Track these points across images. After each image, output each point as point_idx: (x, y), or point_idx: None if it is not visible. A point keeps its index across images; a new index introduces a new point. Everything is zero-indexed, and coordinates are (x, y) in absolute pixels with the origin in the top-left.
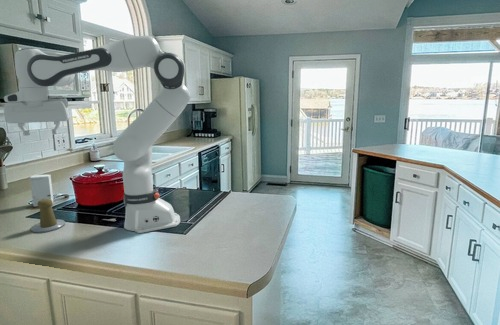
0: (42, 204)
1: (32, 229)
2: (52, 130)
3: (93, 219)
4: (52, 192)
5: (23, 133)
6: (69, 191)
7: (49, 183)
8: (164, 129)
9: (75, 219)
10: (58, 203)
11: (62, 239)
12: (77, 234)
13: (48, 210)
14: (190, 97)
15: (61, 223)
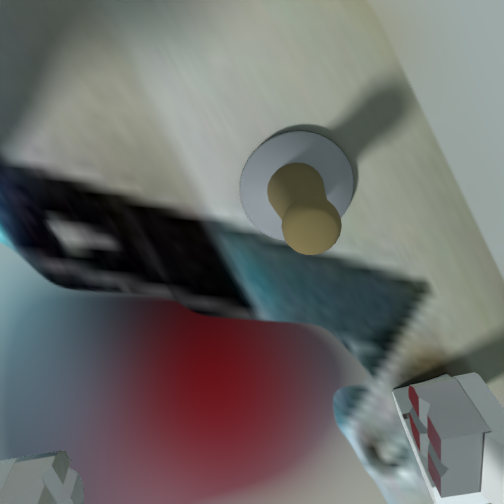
0: (309, 201)
1: (337, 149)
2: (27, 499)
3: (152, 243)
4: (410, 443)
5: (483, 390)
6: (386, 496)
7: (420, 460)
8: None
9: (226, 249)
10: (372, 397)
11: (169, 52)
12: (133, 98)
13: (289, 201)
14: None
15: (250, 199)
